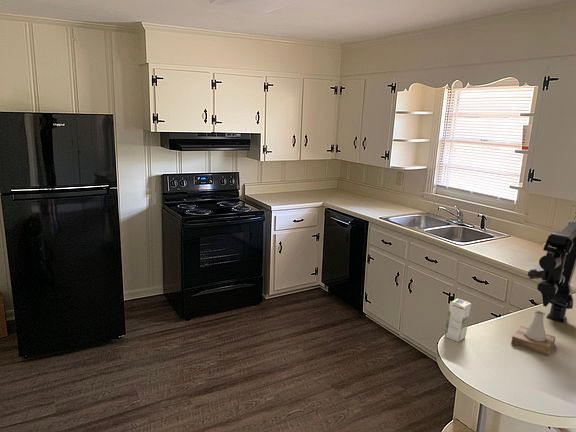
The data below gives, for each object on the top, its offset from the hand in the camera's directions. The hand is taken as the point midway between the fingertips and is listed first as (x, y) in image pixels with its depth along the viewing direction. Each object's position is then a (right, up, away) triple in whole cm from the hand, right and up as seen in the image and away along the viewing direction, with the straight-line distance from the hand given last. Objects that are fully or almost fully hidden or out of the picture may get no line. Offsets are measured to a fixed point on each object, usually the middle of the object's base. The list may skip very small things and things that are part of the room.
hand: (547, 302), depth 175 cm
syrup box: (-39, -12, -7) cm, 41 cm away
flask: (-10, -11, -10) cm, 18 cm away
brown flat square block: (-10, -14, -8) cm, 19 cm away
